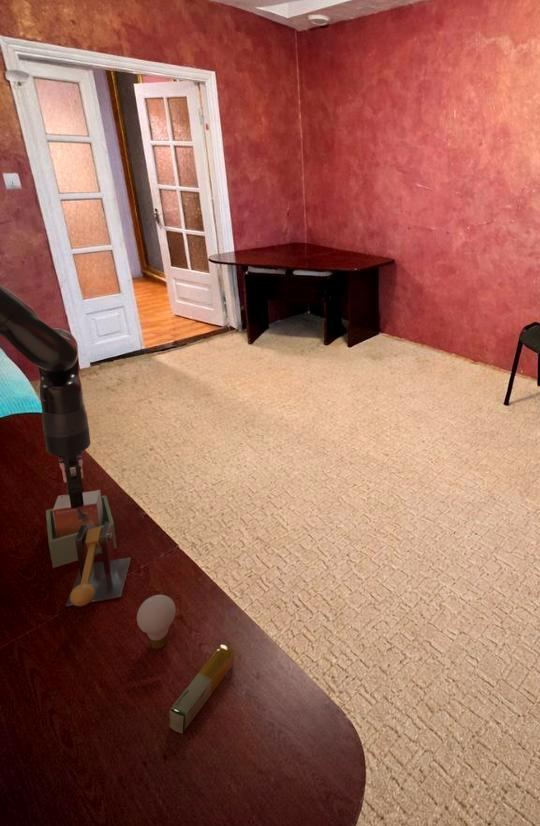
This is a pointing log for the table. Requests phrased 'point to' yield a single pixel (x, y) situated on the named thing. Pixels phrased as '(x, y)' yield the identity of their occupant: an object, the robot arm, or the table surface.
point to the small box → (78, 514)
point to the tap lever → (87, 570)
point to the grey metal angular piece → (102, 567)
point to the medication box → (200, 689)
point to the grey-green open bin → (72, 538)
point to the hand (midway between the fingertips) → (75, 496)
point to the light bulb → (156, 619)
